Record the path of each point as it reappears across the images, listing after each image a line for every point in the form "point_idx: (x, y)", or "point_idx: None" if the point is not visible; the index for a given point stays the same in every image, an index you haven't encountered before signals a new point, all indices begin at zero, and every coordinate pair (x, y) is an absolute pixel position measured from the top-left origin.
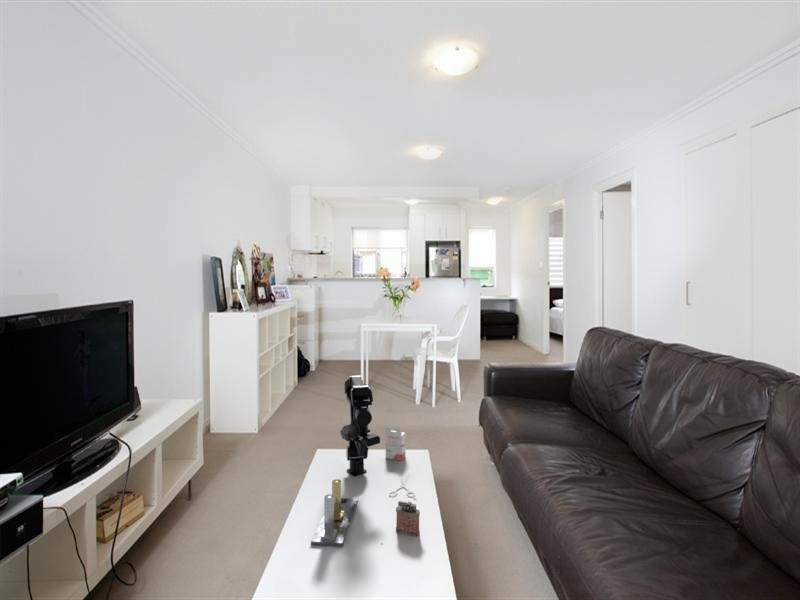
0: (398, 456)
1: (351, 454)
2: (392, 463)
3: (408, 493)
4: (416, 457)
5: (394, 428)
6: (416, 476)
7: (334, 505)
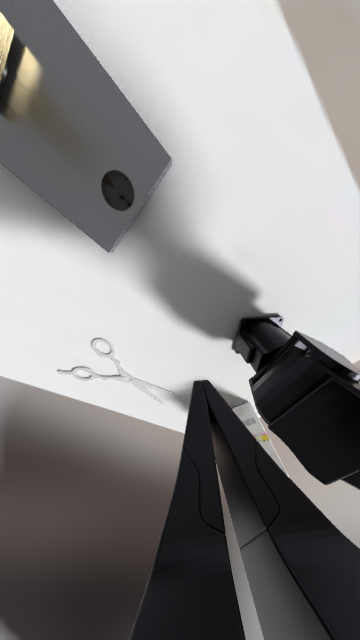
0: None
1: (296, 356)
2: None
3: (89, 372)
4: None
5: None
6: (147, 408)
7: None
